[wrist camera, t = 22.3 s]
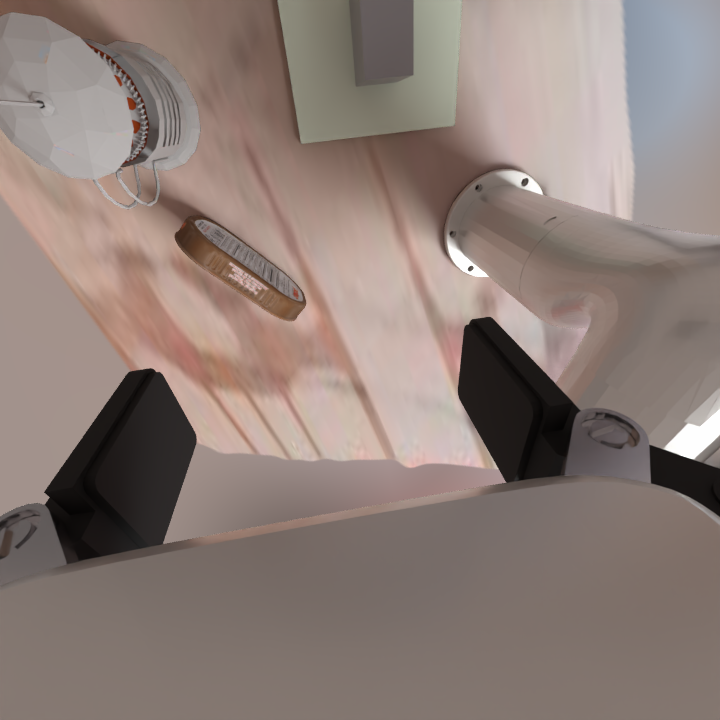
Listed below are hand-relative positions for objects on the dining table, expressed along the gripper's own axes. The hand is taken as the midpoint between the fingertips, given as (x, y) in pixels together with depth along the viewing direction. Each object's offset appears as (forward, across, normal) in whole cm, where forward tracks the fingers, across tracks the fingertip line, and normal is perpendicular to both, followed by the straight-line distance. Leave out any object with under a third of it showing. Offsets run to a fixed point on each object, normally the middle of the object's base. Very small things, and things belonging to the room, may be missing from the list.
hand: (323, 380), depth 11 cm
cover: (+34, -8, -12) cm, 37 cm away
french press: (+34, +14, -8) cm, 37 cm away
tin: (+34, +8, +6) cm, 35 cm away
